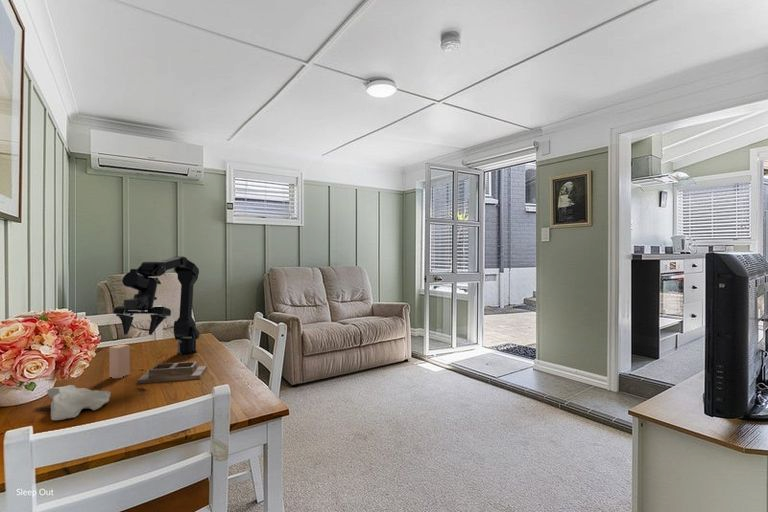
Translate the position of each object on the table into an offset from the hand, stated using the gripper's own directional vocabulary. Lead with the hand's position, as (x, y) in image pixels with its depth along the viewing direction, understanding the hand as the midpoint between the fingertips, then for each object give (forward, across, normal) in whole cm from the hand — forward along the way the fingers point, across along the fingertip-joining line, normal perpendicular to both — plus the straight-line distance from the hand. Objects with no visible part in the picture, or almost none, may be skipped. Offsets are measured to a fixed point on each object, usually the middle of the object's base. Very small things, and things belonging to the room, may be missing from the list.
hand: (137, 334), depth 137 cm
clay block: (+14, -6, +4) cm, 16 cm away
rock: (+24, +2, -21) cm, 31 cm away
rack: (+14, +13, +5) cm, 20 cm away
